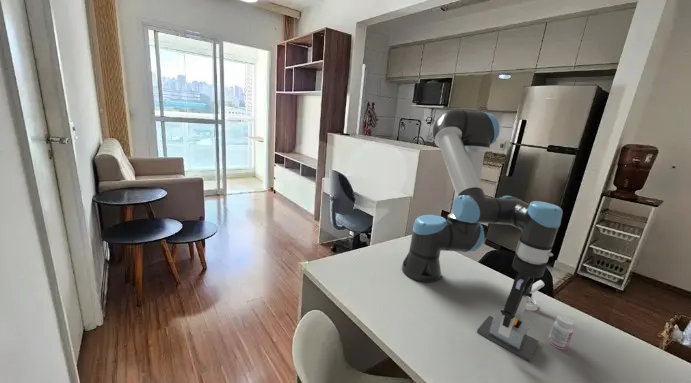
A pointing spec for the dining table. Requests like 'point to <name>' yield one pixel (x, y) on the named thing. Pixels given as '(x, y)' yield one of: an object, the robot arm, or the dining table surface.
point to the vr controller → (535, 287)
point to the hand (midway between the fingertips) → (510, 323)
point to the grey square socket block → (516, 334)
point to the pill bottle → (561, 332)
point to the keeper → (523, 352)
